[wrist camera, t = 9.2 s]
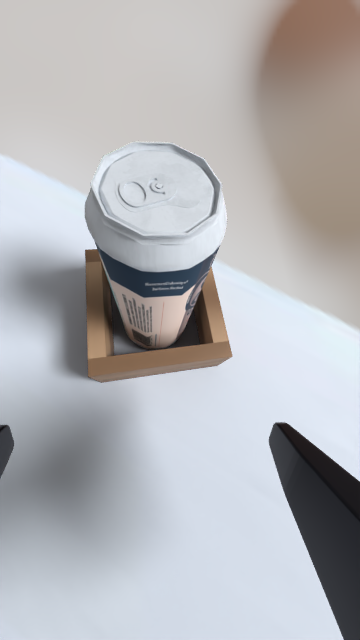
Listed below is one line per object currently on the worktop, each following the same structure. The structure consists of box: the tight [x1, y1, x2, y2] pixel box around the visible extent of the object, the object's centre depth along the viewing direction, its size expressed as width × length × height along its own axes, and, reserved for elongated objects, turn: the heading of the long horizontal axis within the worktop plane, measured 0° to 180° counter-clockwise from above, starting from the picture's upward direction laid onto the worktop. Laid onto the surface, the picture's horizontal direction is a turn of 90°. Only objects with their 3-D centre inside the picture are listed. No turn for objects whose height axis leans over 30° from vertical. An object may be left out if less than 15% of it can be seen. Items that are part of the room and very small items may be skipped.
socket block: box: [85, 249, 232, 383], centre depth 16 cm, size 8×8×4 cm
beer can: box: [85, 141, 227, 350], centre depth 12 cm, size 5×5×12 cm
